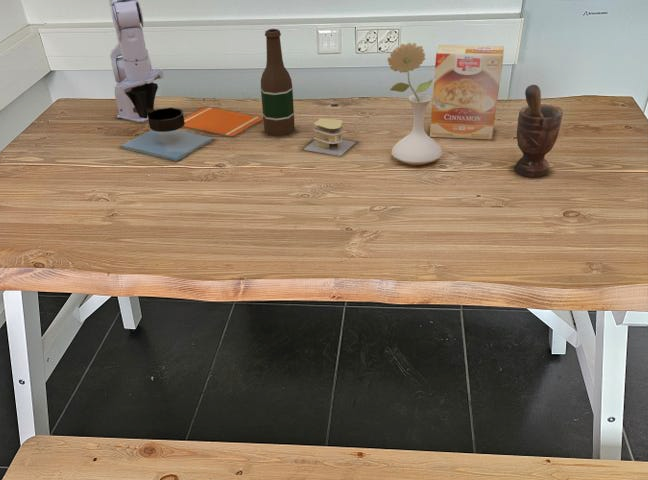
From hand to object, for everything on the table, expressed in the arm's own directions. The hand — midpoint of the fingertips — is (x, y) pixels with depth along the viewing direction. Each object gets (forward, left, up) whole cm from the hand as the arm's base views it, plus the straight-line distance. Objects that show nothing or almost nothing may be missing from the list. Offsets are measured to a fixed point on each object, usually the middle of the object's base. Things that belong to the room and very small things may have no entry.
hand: (146, 116), depth 169 cm
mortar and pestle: (+89, +23, -6) cm, 93 cm away
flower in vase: (+63, +19, -6) cm, 67 cm away
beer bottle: (+26, +19, -6) cm, 33 cm away
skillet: (+4, 0, -1) cm, 4 cm away
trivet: (+5, 0, -6) cm, 8 cm away
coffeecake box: (+67, +38, -6) cm, 78 cm away
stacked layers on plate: (+42, +17, -6) cm, 46 cm away
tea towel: (+7, +18, -6) cm, 20 cm away
